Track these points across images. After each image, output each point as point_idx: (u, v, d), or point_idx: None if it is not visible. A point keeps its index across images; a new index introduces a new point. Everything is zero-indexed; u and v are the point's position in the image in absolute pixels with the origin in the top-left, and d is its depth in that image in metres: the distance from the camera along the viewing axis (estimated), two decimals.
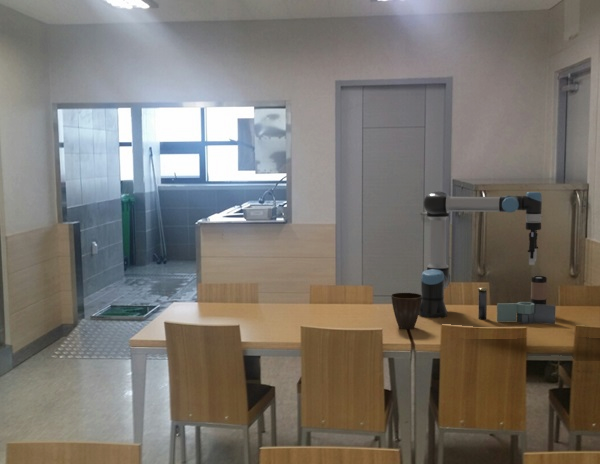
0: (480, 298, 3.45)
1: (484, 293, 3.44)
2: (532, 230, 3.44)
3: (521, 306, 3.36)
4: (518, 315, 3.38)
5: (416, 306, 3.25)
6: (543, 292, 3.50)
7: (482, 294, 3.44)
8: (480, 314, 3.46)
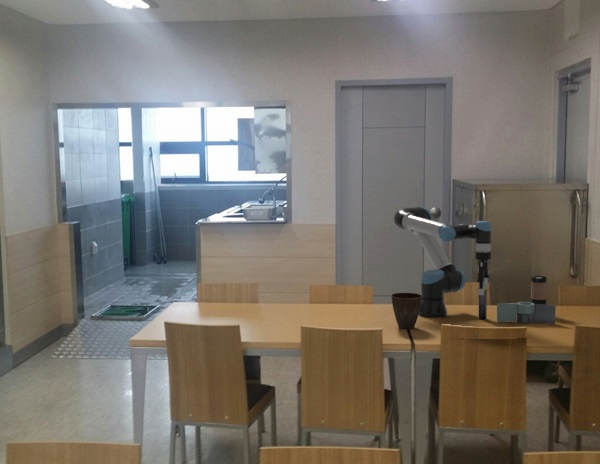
0: (480, 298, 3.45)
1: (484, 293, 3.44)
2: (481, 260, 3.41)
3: (521, 306, 3.36)
4: (518, 315, 3.38)
5: (416, 306, 3.25)
6: (543, 292, 3.50)
7: None
8: (480, 314, 3.46)
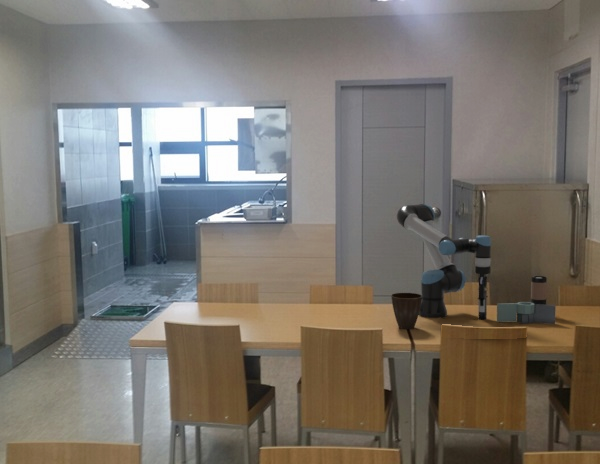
0: None
1: None
2: (481, 274, 3.42)
3: (521, 306, 3.36)
4: (518, 315, 3.38)
5: (416, 306, 3.25)
6: (543, 292, 3.50)
7: None
8: (480, 314, 3.46)
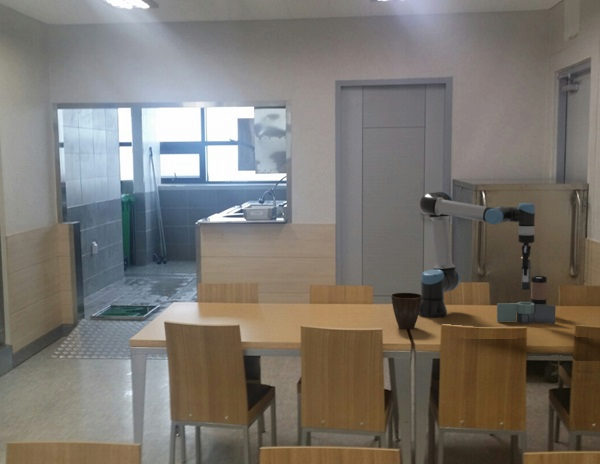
0: None
1: (528, 262, 3.34)
2: (525, 243, 3.32)
3: (521, 306, 3.36)
4: (518, 315, 3.38)
5: (416, 306, 3.25)
6: (543, 292, 3.50)
7: None
8: (523, 284, 3.36)
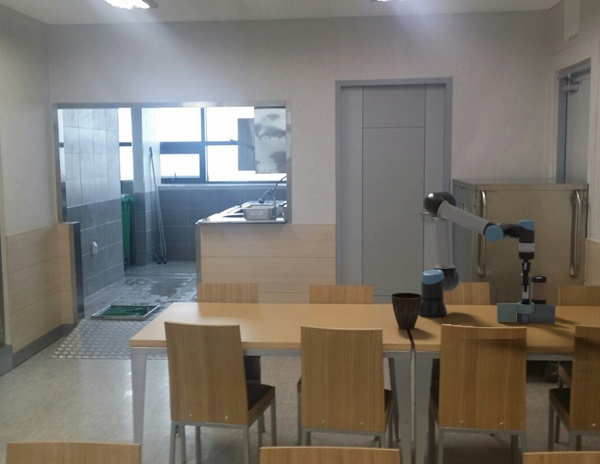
0: None
1: (528, 279, 3.35)
2: (525, 260, 3.33)
3: (521, 306, 3.36)
4: (518, 315, 3.38)
5: (416, 306, 3.25)
6: (543, 292, 3.50)
7: None
8: (523, 300, 3.37)
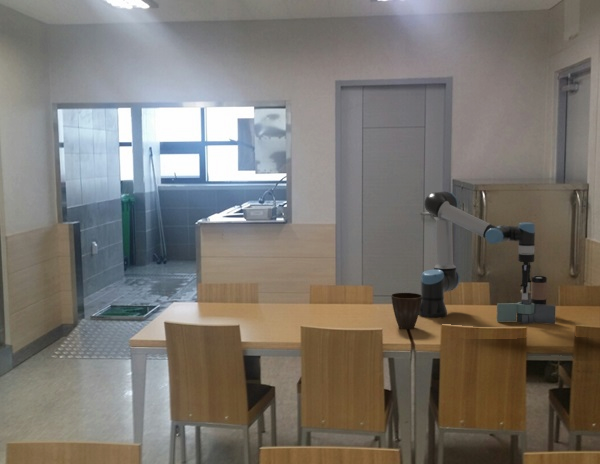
0: (523, 301, 3.37)
1: None
2: (525, 262, 3.33)
3: (521, 306, 3.36)
4: (518, 315, 3.38)
5: (416, 306, 3.25)
6: (543, 292, 3.50)
7: None
8: None
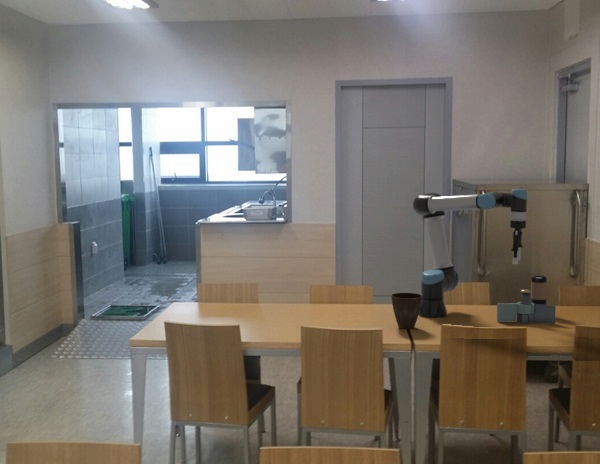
0: (523, 300, 3.37)
1: (528, 295, 3.36)
2: (516, 228, 3.34)
3: (521, 306, 3.36)
4: (518, 315, 3.38)
5: (416, 306, 3.25)
6: (543, 292, 3.50)
7: (526, 296, 3.36)
8: None
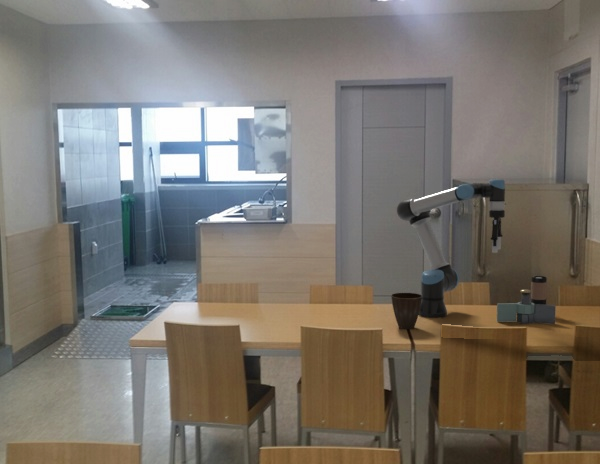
0: (523, 300, 3.37)
1: (527, 295, 3.36)
2: (495, 218, 3.41)
3: (521, 306, 3.36)
4: (518, 315, 3.38)
5: (416, 306, 3.25)
6: (543, 292, 3.50)
7: (525, 296, 3.36)
8: None
